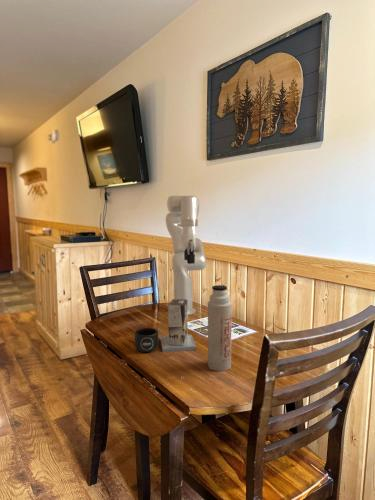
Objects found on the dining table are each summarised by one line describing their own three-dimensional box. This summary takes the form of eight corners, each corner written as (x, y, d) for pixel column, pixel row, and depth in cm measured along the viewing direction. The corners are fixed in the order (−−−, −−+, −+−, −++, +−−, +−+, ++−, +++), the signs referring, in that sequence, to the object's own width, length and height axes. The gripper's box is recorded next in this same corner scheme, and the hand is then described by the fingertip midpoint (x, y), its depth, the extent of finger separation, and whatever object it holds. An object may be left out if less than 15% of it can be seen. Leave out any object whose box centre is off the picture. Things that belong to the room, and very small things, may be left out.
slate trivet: (160, 339, 143) (160, 336, 143) (191, 337, 145) (191, 334, 145) (162, 351, 130) (162, 348, 130) (196, 349, 132) (196, 346, 132)
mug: (159, 353, 129) (158, 335, 129) (135, 355, 128) (134, 336, 127) (156, 341, 141) (156, 324, 140) (134, 342, 140) (134, 325, 139)
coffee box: (184, 345, 133) (184, 305, 131) (168, 344, 134) (167, 304, 132) (188, 337, 142) (187, 299, 140) (172, 336, 143) (172, 298, 141)
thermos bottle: (235, 368, 117) (236, 287, 113) (214, 372, 114) (214, 290, 110) (223, 358, 124) (224, 282, 121) (203, 363, 121) (203, 285, 117)
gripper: (178, 222, 161) (178, 259, 163) (183, 224, 144) (183, 265, 146) (194, 222, 162) (194, 258, 164) (201, 224, 145) (201, 264, 147)
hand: (189, 261), depth 155 cm, fingers open, 9 cm apart
